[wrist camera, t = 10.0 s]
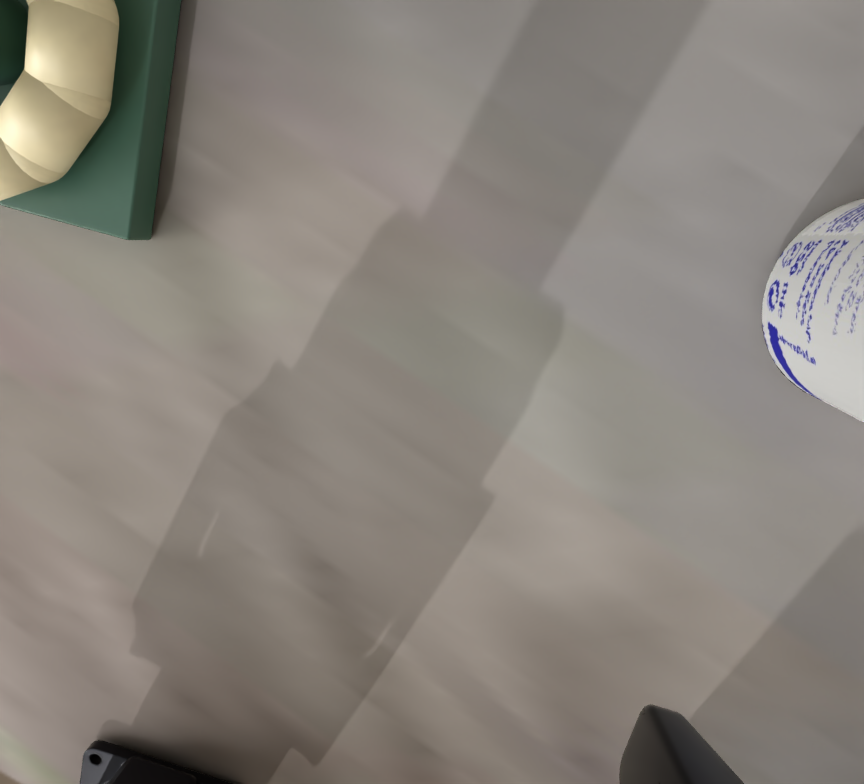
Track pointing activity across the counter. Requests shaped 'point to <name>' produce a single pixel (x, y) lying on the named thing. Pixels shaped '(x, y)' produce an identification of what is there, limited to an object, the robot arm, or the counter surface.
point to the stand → (108, 124)
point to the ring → (57, 91)
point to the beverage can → (821, 309)
